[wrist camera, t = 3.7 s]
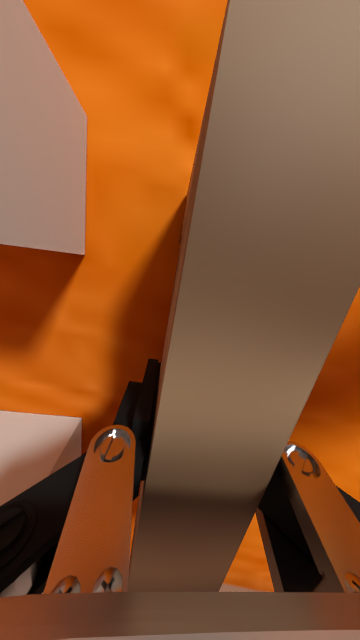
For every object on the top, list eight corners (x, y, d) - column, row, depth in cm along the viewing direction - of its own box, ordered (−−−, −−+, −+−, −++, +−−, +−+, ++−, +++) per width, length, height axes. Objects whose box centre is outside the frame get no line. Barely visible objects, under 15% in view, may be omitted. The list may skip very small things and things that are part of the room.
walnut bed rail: (184, 471, 15) (194, 642, 8) (142, 468, 14) (117, 644, 8) (252, 205, 9) (476, 34, 2) (187, 190, 9) (239, -56, 2)
